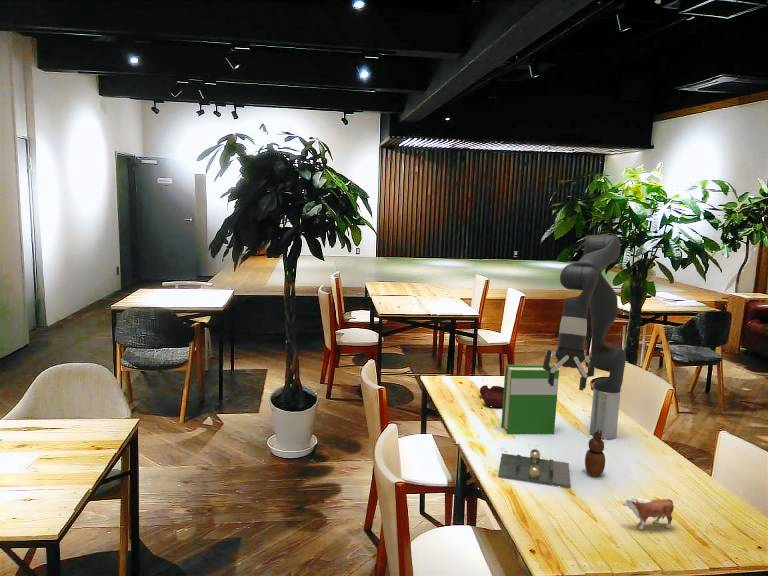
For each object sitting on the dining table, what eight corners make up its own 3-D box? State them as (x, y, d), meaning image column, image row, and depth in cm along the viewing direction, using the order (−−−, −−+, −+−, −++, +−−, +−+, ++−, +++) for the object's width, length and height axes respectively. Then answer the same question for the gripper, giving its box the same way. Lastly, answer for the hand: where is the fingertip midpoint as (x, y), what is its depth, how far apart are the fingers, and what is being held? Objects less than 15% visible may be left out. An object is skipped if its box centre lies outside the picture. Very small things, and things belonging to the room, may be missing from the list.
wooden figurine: (605, 479, 176) (610, 432, 174) (585, 477, 177) (589, 430, 175) (601, 470, 182) (606, 424, 180) (582, 467, 183) (586, 422, 181)
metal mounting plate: (501, 456, 190) (502, 444, 189) (568, 465, 184) (569, 454, 184) (498, 477, 174) (499, 464, 174) (570, 488, 169) (571, 475, 168)
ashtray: (524, 411, 235) (525, 399, 235) (484, 409, 236) (485, 397, 235) (515, 397, 253) (515, 386, 253) (478, 395, 253) (478, 384, 253)
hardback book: (507, 434, 209) (512, 370, 206) (501, 426, 216) (505, 364, 213) (554, 434, 211) (559, 370, 208) (546, 426, 218) (551, 365, 215)
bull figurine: (618, 521, 151) (621, 492, 150) (667, 521, 152) (670, 492, 151) (627, 531, 147) (630, 501, 146) (676, 530, 148) (680, 500, 147)
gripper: (593, 336, 173) (587, 390, 172) (545, 329, 174) (539, 383, 173) (600, 336, 165) (594, 393, 164) (550, 329, 167) (543, 385, 166)
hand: (566, 388), depth 169 cm, fingers open, 8 cm apart
